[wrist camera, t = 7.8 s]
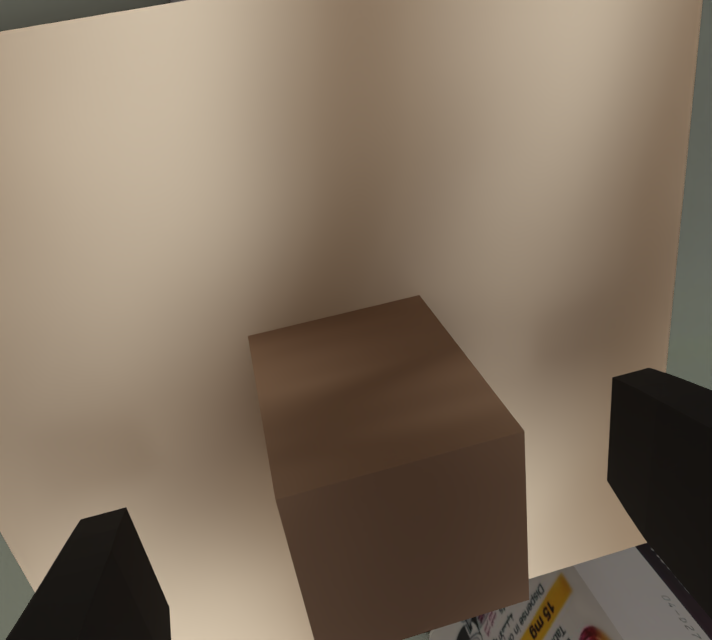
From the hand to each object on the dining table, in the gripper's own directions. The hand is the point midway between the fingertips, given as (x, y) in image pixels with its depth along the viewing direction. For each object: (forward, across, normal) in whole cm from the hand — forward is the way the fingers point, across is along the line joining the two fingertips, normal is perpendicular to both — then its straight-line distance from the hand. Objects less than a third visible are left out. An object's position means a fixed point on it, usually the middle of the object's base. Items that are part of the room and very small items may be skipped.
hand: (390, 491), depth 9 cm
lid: (+3, 0, 0) cm, 3 cm away
